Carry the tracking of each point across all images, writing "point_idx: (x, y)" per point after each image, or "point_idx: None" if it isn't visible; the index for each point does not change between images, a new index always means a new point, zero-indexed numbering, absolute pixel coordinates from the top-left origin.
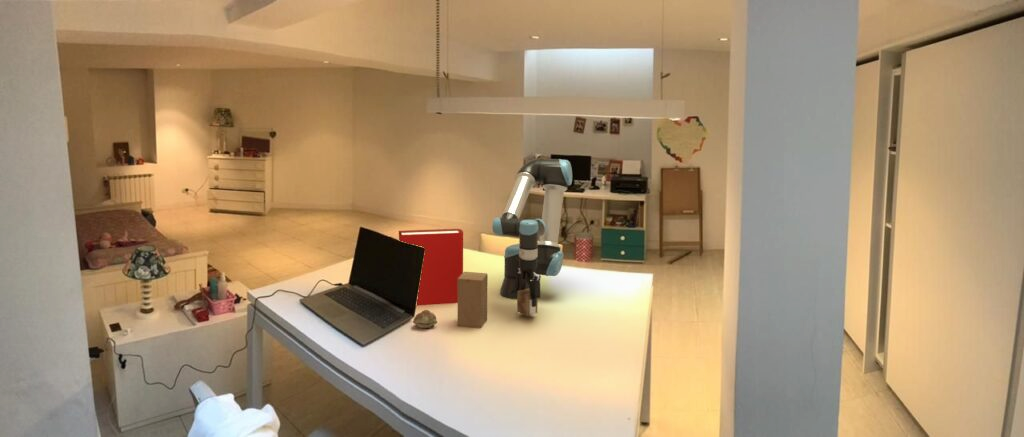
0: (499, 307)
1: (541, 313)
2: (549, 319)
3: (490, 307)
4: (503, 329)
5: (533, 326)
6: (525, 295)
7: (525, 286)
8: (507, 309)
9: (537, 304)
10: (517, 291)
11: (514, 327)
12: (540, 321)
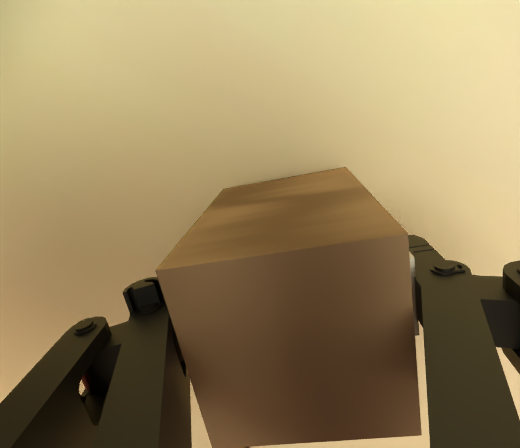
0: (59, 292)
1: (272, 77)
2: (426, 87)
3: (47, 336)
4: (409, 436)
5: (476, 273)
6: (388, 422)
7: (166, 365)
8: (107, 266)
9: (360, 183)
10: (215, 443)
11: (418, 377)
12: (423, 179)
